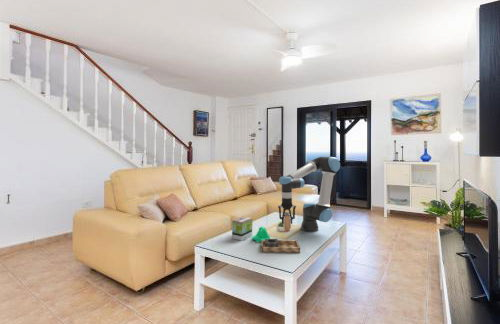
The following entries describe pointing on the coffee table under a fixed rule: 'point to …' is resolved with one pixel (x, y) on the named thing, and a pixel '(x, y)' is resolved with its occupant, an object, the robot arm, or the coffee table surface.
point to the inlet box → (280, 246)
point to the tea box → (241, 228)
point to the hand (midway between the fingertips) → (287, 227)
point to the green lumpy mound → (261, 235)
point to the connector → (287, 222)
